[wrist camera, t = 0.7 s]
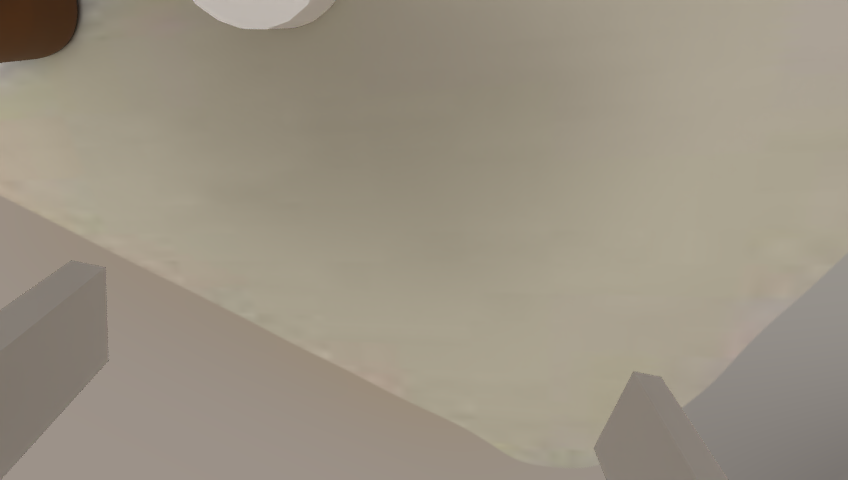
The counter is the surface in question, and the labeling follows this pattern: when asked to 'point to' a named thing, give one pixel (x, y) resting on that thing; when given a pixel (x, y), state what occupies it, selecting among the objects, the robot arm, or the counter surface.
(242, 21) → the toilet paper
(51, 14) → the mug
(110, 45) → the counter surface
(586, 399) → the counter surface
